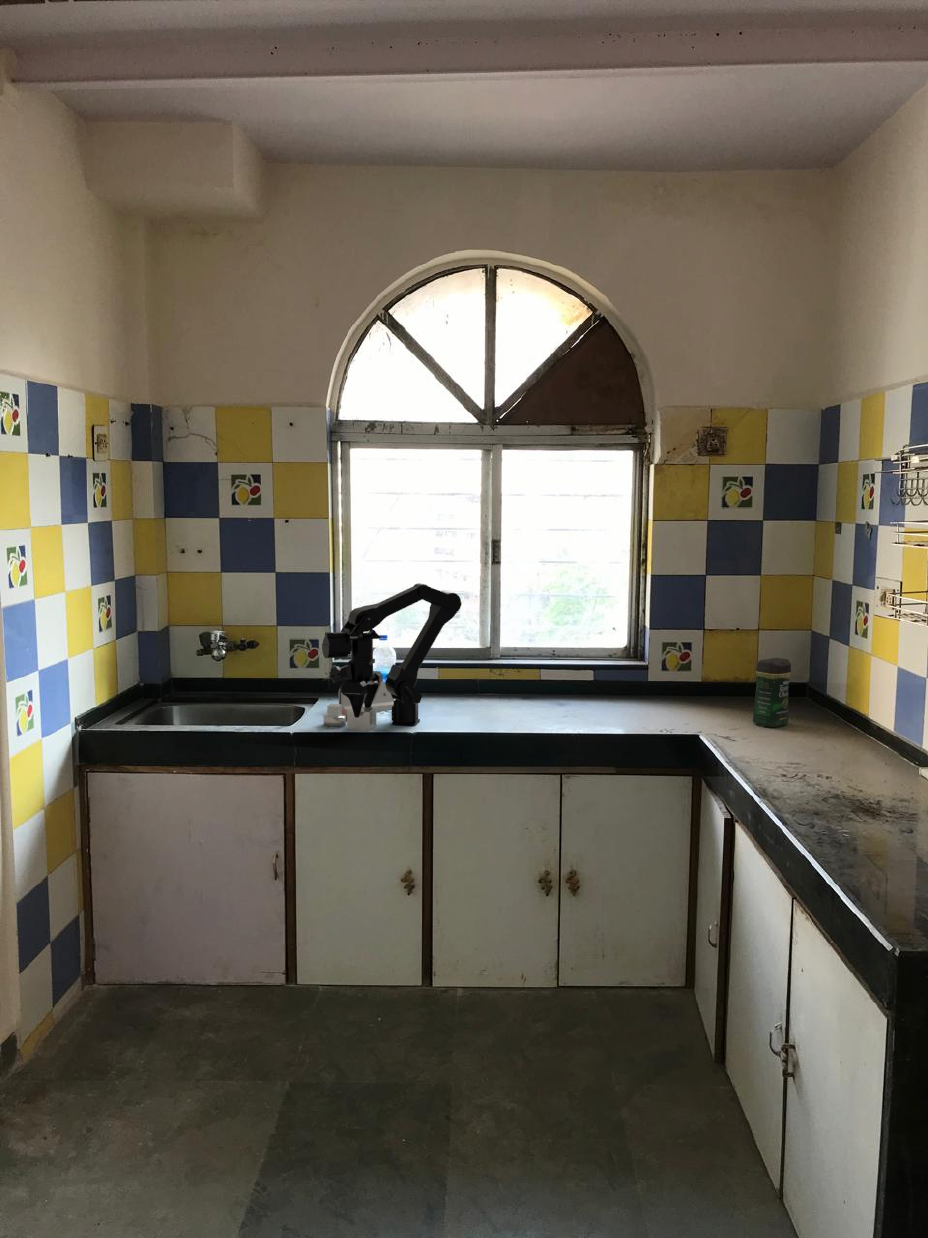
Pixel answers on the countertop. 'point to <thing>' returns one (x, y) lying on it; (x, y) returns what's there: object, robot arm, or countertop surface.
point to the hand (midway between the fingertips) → (362, 713)
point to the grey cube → (362, 719)
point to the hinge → (381, 701)
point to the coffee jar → (772, 692)
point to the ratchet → (335, 716)
